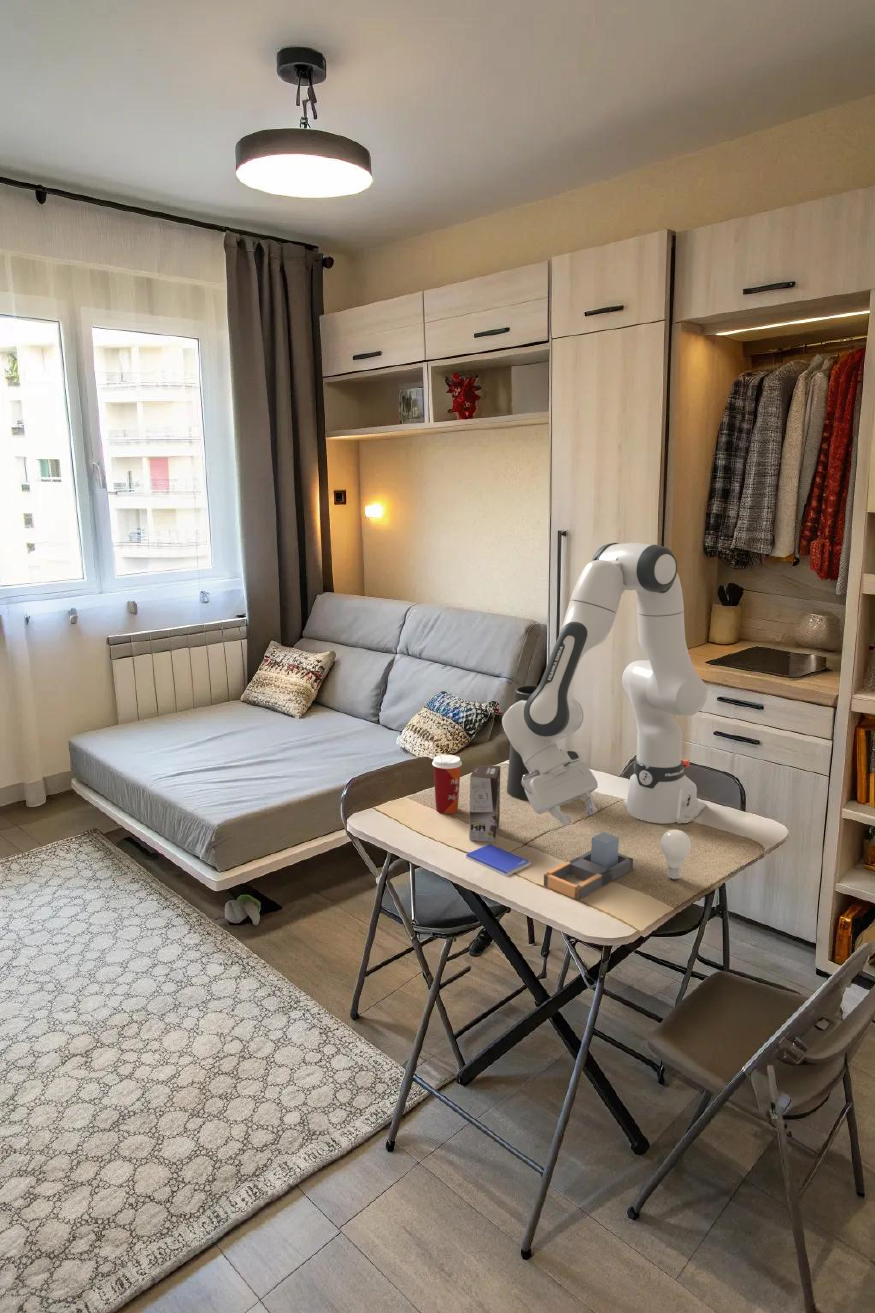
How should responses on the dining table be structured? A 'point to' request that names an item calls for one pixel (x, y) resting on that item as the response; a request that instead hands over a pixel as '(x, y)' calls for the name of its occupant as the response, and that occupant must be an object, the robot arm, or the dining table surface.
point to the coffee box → (484, 803)
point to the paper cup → (447, 783)
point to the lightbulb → (675, 851)
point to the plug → (605, 850)
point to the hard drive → (498, 859)
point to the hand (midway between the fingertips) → (580, 818)
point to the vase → (515, 759)
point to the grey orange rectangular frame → (585, 875)
